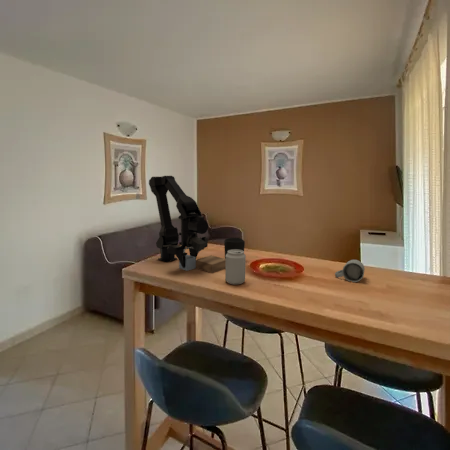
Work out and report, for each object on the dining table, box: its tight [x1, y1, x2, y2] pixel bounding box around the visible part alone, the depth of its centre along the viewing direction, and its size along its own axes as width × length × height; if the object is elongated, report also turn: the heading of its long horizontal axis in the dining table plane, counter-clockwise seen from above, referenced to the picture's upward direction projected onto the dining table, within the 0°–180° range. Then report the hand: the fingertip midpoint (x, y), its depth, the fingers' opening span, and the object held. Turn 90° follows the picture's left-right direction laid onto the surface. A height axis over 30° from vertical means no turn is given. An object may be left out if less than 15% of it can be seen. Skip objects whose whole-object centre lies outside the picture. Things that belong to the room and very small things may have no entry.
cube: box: [178, 254, 197, 272], centre depth 130 cm, size 5×5×5 cm
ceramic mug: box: [334, 259, 366, 283], centre depth 119 cm, size 11×8×8 cm
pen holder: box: [223, 237, 246, 259], centre depth 142 cm, size 9×9×10 cm
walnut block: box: [195, 254, 226, 274], centre depth 131 cm, size 10×10×4 cm
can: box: [224, 249, 247, 286], centre depth 114 cm, size 8×8×12 cm
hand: (188, 266), depth 130 cm, fingers closed on cube, 5 cm apart
